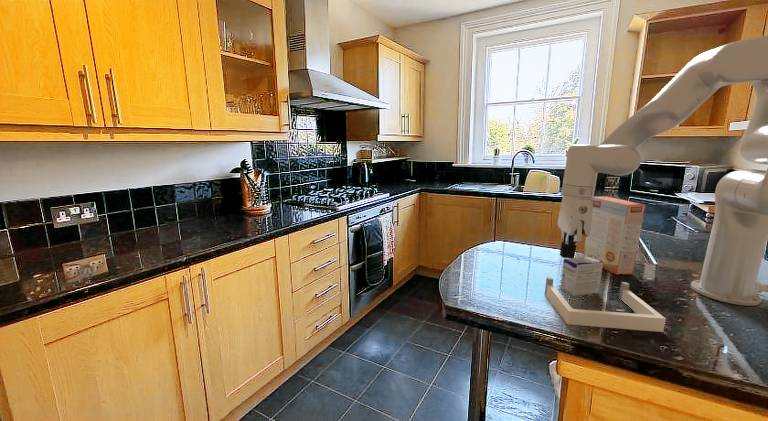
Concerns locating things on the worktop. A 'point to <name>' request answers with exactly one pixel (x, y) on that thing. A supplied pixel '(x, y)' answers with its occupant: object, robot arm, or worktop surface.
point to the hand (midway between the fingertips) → (566, 256)
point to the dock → (641, 320)
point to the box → (581, 276)
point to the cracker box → (615, 233)
